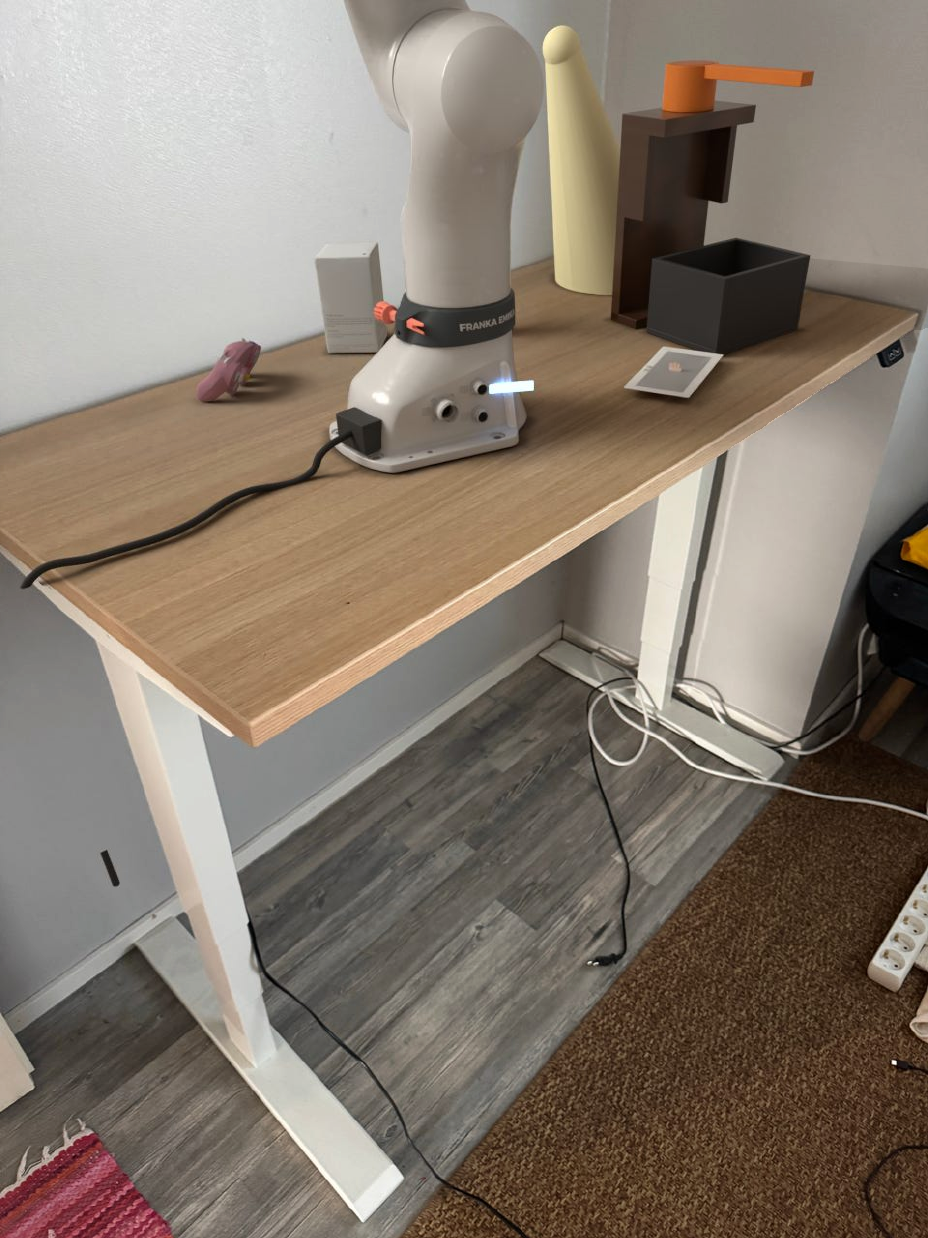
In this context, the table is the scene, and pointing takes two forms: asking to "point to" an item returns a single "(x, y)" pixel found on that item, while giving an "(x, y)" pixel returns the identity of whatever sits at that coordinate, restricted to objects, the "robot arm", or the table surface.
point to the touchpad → (674, 372)
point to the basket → (726, 295)
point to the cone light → (580, 169)
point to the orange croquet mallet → (697, 79)
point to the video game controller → (229, 370)
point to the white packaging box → (350, 297)
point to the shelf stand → (667, 192)
